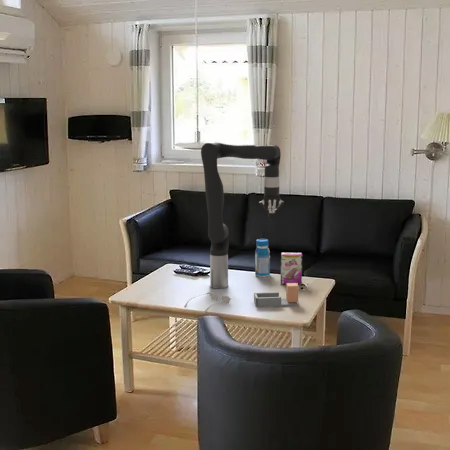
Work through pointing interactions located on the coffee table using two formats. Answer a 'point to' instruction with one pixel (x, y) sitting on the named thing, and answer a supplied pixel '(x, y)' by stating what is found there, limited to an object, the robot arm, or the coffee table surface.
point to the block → (292, 292)
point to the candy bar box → (291, 268)
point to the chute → (271, 300)
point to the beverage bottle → (262, 258)
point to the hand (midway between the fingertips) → (271, 220)
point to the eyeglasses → (215, 297)
